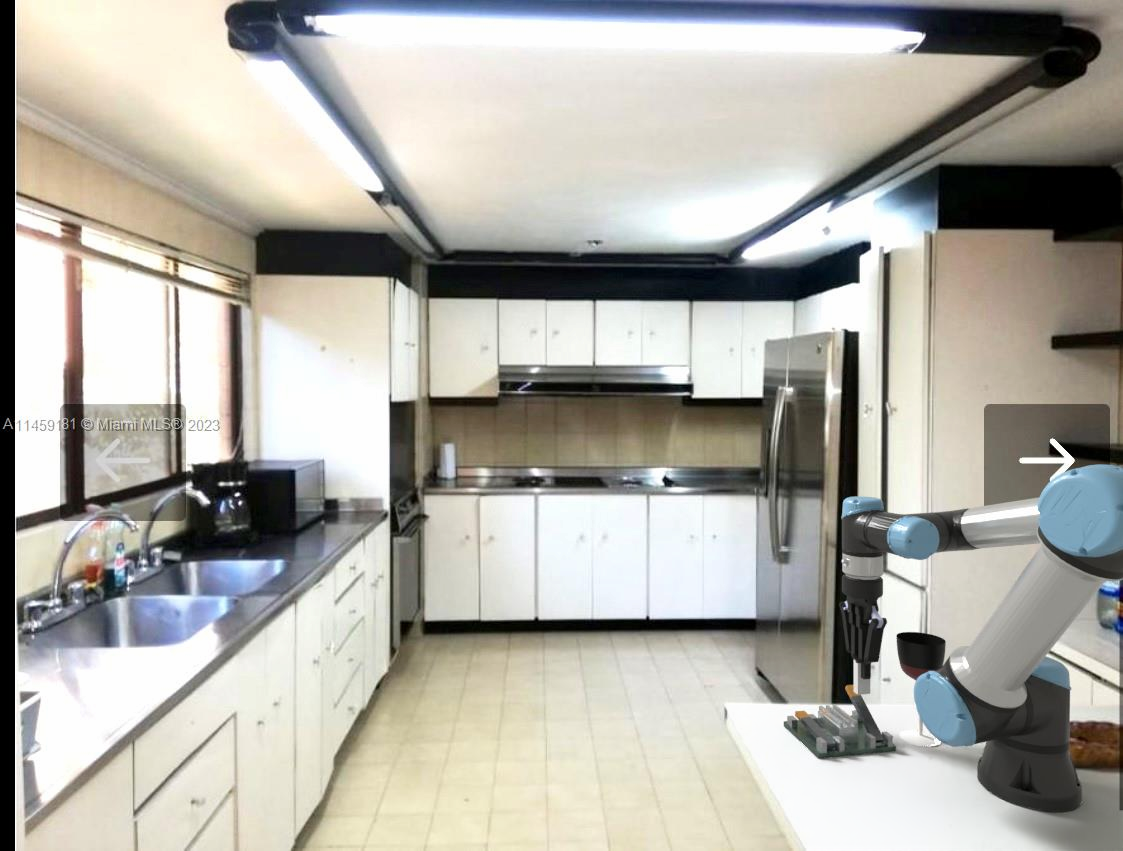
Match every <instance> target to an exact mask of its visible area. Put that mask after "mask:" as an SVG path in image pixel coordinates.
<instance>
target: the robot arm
mask: <svg viewBox="0 0 1123 851" xmlns="http://www.w3.org/2000/svg"><path fill="white" fill-rule="evenodd" d="M840 517H841V552H842V557H841V558H842V559H841V564H842V566H841V567H842V569H841V570H842V572H843V573H844V574H843V575H842V576H841V592H842V594H844V595H846V600H845V601H840V602H839V604H838V605H839V608H840V611H841V617H842V625H843V626H842V627H843V633H844V640H845V641H844V642H845V649H846V652H847V653H850V656H851V658H852V660H853V661H852V662H853V663H852V664H853V669H852V670H853V685H854V692H855V693H856V694H857V695H860V694H861V695H870V694H871V678H872V664H873V663H879V661H880V655H881V650H882V648H881V647H882V642H883V635H884V631H885V630H884V629H885V628H886V626H887V624H888V620H887V618H886V617H882V616H881V615H880V614H879V604H878V600H879V599H880V598H882V597H883V595H884V579H883V577H882V575H884V553H887V554H891V555H895V556H899V557H901V558H903V559H906V560H910V559H912V560H918V561H924V560H927V559H929V558H930V557H931V556H932V555H934V554H936V553H945V552H948V553H949V552H961V551H962V552H963V551H965V552H966V551H973V550H974V551H975V550H980V549H989V548H1001V547H1003V548H1004V547H1012V546H1013V547H1015V546H1025V545H1035V544H1040V546H1039V547H1038V549H1037V550H1036V552H1035V553H1034V554H1033V556H1032V557H1031V559H1030V561H1029V562H1028V563H1027V565H1026V566H1025V567H1024V569H1023V571H1022V572H1020V575H1019V576H1018V577H1017V579H1016V580H1015V582H1014V583H1013V584H1012V586H1011V587H1010V589H1009V590H1008V591H1007V593H1006V595H1005V596H1004V597H1003V599H1002V600H1001V601H1000V603H999V604H998V605H997V607H996V608H995V610H994V611H993V612H992V614H991V616H990V617H989V618H988V620H987V621H986V623H985V624H984V625H983V627H982V629H980V631H979V633H978V634H977V636H976V637H975V638H974V640H973V641H972V643H971V644H970V645H964V646H960V647H957V648H955V649H954V650H953V651H951V653H950V654H949V657H947V659H946V660H945V661H944V663H943V666H942V668H941V669H939V670H938V671H928V672H926V673H924V674H922V675H920V676H919V677H918V678H917V680H915V682H914V686H913V699H914V703H915V705H916V708H915V709H916V711H917V714H919V716H920V718H921V720H922V722H923V726H925V728H926V729H927V731H928V733H931V734H932V735H933V736H934V737H935V738H937V739H938V740H939V741H941V742H942V744H944V745H948V746H951V747H956V748H957V747H972V746H974V745H977V744H982V743H985V744H984V748H983V753H982V756H980V757H979V759H978V762H977V765H976V767H977V768H976V770H977V772H976V773H977V774H976V777H977V780H978V782H979V784H980V785H981V786H982V787H983V788H984V789H985V790H987V791H988V792H989V793H991V794H993V795H995V797H996V796H997V797H998V798H1000V799H1002V800H1005V801H1007V802H1009V803H1012V804H1014V805H1017V806H1021V807H1024V808H1027V809H1033V810H1038V811H1043V812H1056V813H1057V812H1068V811H1073V810H1075V809H1078V808H1079V807H1080V806H1081V805H1082V803H1083V787H1082V784H1081V781H1080V779H1079V778H1078V772H1077V770H1076V766H1075V764H1074V761H1073V758H1072V756H1071V752H1070V751H1071V750H1070V738H1071V737H1070V736H1071V735H1070V729H1071V728H1070V727H1071V724H1070V723H1071V721H1070V720H1071V719H1070V718H1071V691H1072V686H1071V679H1070V670H1069V669H1068V667H1067V666H1066V665H1064V664H1063V663H1061V662H1060V661H1058V660H1056V659H1054V658H1051V657H1049V656H1047V655H1048V654H1049V652H1051V650H1052V648H1053V647H1054V646H1055V645H1056V644H1057V642H1058V641H1059V640H1060V639H1061V638H1062V636H1063V635H1064V634H1065V632H1066V631H1067V630H1068V629H1069V627H1070V626H1071V625H1072V624H1073V622H1074V621H1075V620H1076V618H1077V617H1078V616H1079V615H1080V614H1081V613H1082V611H1084V609H1085V608H1086V606H1087V605H1088V604H1089V602H1090V601H1091V600H1092V599H1093V597H1094V596H1095V595H1096V594H1097V593H1098V591H1099V590H1100V589H1101V588H1102V586H1103V585H1104V584H1105V582H1118V581H1122V580H1123V464H1121V465H1120V464H1119V465H1112V464H1090V465H1086V466H1082V467H1076V468H1072V469H1070V470H1066V471H1064V472H1062V473H1060V474H1058V475H1056V476H1055V477H1054V478H1052V479H1051V480H1050V481H1049V482H1048V483H1047V484H1046V486H1045V487H1044V488H1043V490H1042V491H1041V494H1040V495H1039V497H1033V498H1027V499H1020V500H1015V501H1008V502H1007V501H1006V502H1002V503H994V504H989V505H982V506H977V507H976V506H974V507H969V508H962V509H957V510H956V509H954V510H946V511H936V512H934V511H932V512H922V513H921V512H920V513H919V512H918V513H905V514H903V513H894V512H888V511H885V508H884V501H883V499H881V498H877V497H872V496H849V497H846V498H845V499H843V502H842V513H841V516H840ZM1081 802H1082V803H1081ZM1080 804H1081V805H1080ZM1077 807H1078V808H1077Z"/></svg>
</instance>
